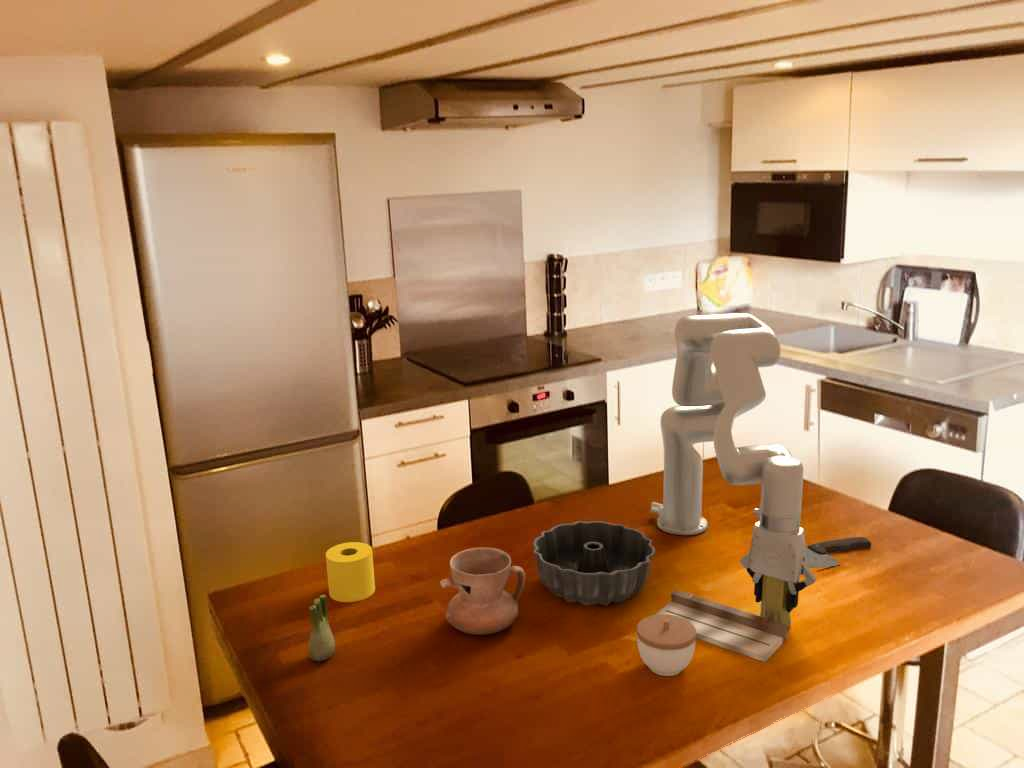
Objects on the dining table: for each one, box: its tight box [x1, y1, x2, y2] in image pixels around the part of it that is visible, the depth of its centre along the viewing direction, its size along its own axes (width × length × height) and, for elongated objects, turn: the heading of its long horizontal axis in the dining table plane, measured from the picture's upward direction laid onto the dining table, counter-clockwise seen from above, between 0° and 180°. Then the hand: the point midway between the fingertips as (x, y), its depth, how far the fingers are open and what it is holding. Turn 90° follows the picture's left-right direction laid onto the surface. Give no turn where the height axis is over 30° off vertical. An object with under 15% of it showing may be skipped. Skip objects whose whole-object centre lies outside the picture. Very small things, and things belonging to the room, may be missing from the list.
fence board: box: [654, 589, 788, 663], centre depth 170 cm, size 24×10×3 cm, turn 51°
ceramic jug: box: [439, 546, 526, 636], centre depth 174 cm, size 18×14×14 cm
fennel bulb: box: [308, 594, 336, 662], centre depth 164 cm, size 6×5×12 cm
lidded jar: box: [636, 614, 697, 677], centre depth 157 cm, size 11×11×9 cm
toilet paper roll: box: [325, 541, 376, 603], centre depth 190 cm, size 10×10×9 cm
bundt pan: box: [533, 520, 656, 607], centre depth 188 cm, size 26×26×10 cm
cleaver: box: [806, 536, 872, 568], centre depth 199 cm, size 30×10×2 cm, turn 111°
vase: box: [759, 575, 792, 628], centre depth 170 cm, size 6×6×14 cm
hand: (775, 603), depth 171 cm, fingers closed on vase, 5 cm apart
